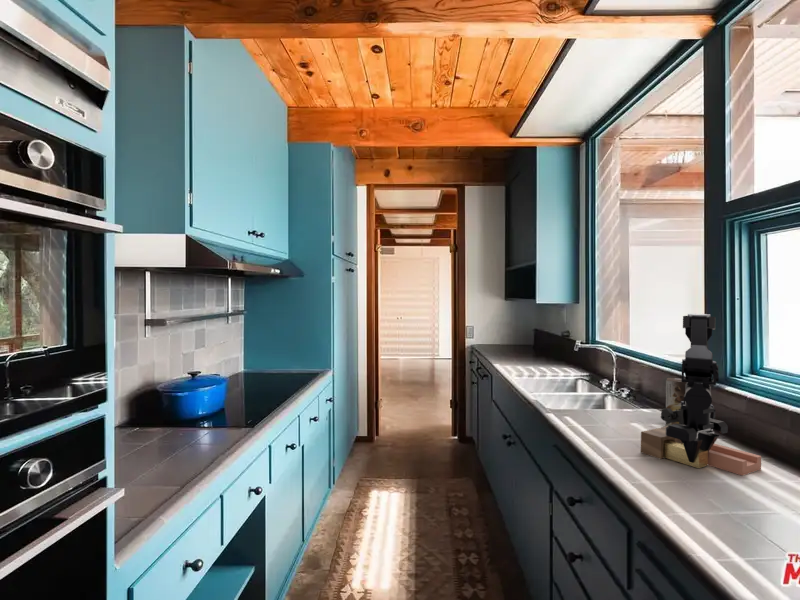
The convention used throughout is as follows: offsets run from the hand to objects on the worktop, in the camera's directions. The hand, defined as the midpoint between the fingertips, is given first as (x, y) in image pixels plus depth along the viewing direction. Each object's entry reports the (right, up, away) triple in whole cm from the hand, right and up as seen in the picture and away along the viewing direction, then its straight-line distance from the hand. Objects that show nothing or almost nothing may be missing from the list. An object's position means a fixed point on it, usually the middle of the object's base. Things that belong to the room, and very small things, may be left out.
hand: (696, 460), depth 127 cm
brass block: (-2, -1, +4) cm, 4 cm away
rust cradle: (+9, -1, +1) cm, 9 cm away
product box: (+18, -1, +38) cm, 42 cm away
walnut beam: (-3, -1, +11) cm, 11 cm away
